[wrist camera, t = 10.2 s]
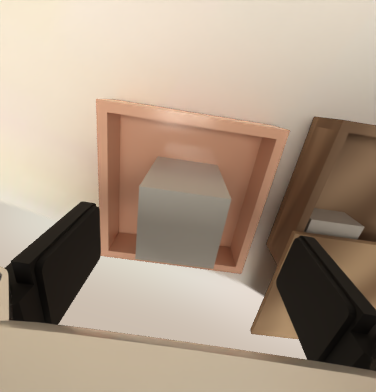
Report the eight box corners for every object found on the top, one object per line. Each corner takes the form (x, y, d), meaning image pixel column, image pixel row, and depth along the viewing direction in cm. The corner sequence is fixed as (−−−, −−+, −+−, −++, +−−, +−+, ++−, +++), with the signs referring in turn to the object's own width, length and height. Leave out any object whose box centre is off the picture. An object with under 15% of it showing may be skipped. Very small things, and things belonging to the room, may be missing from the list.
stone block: (217, 165, 16) (231, 199, 10) (206, 216, 17) (213, 268, 12) (157, 156, 15) (139, 186, 10) (153, 209, 17) (135, 259, 12)
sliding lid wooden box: (514, 149, 15) (616, 165, 12) (378, 318, 23) (414, 360, 19) (311, 116, 15) (352, 121, 11) (242, 302, 22) (252, 342, 19)
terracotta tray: (271, 125, 15) (290, 130, 12) (234, 248, 20) (241, 273, 17) (114, 99, 14) (95, 98, 12) (114, 233, 19) (100, 255, 16)
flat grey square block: (344, 212, 17) (364, 226, 15) (326, 246, 19) (342, 263, 16) (297, 205, 17) (311, 219, 15) (282, 240, 18) (294, 257, 16)
